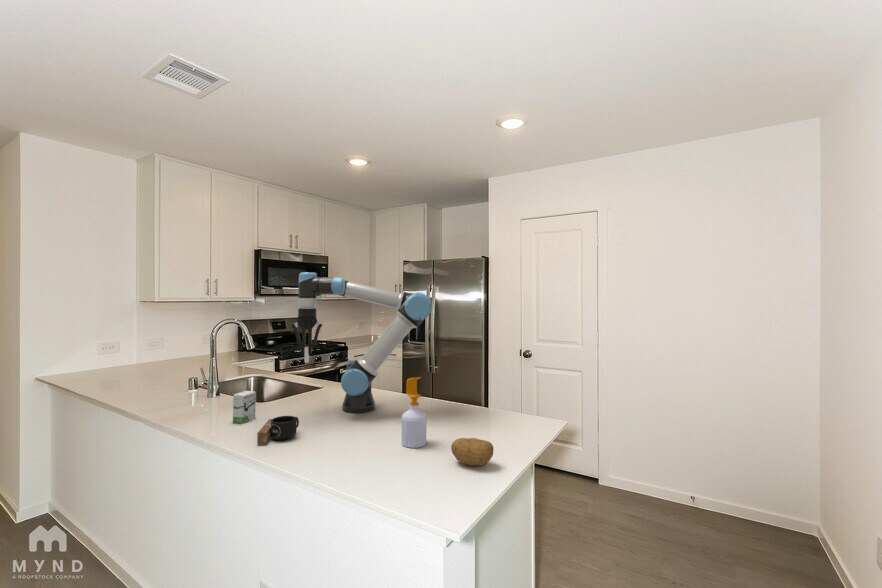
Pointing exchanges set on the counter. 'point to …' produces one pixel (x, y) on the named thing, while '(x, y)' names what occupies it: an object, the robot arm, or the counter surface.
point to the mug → (284, 427)
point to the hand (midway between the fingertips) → (306, 361)
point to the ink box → (244, 406)
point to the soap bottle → (413, 419)
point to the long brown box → (264, 434)
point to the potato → (472, 451)
